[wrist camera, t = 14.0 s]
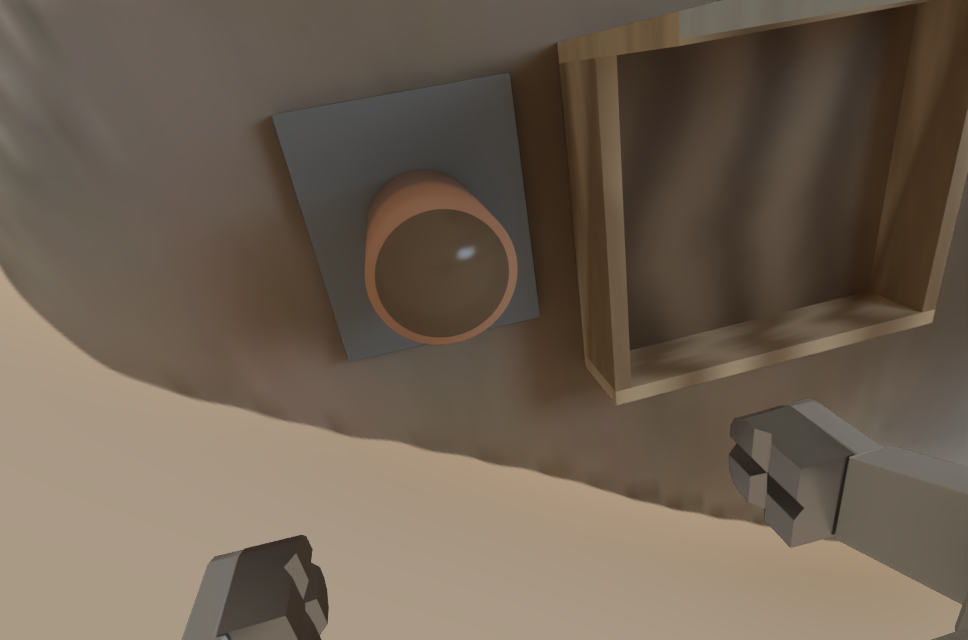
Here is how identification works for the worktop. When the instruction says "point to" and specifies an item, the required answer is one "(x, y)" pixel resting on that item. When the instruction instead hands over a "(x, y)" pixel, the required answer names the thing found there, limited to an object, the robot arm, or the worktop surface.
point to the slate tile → (387, 154)
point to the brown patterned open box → (761, 182)
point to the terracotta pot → (436, 259)
